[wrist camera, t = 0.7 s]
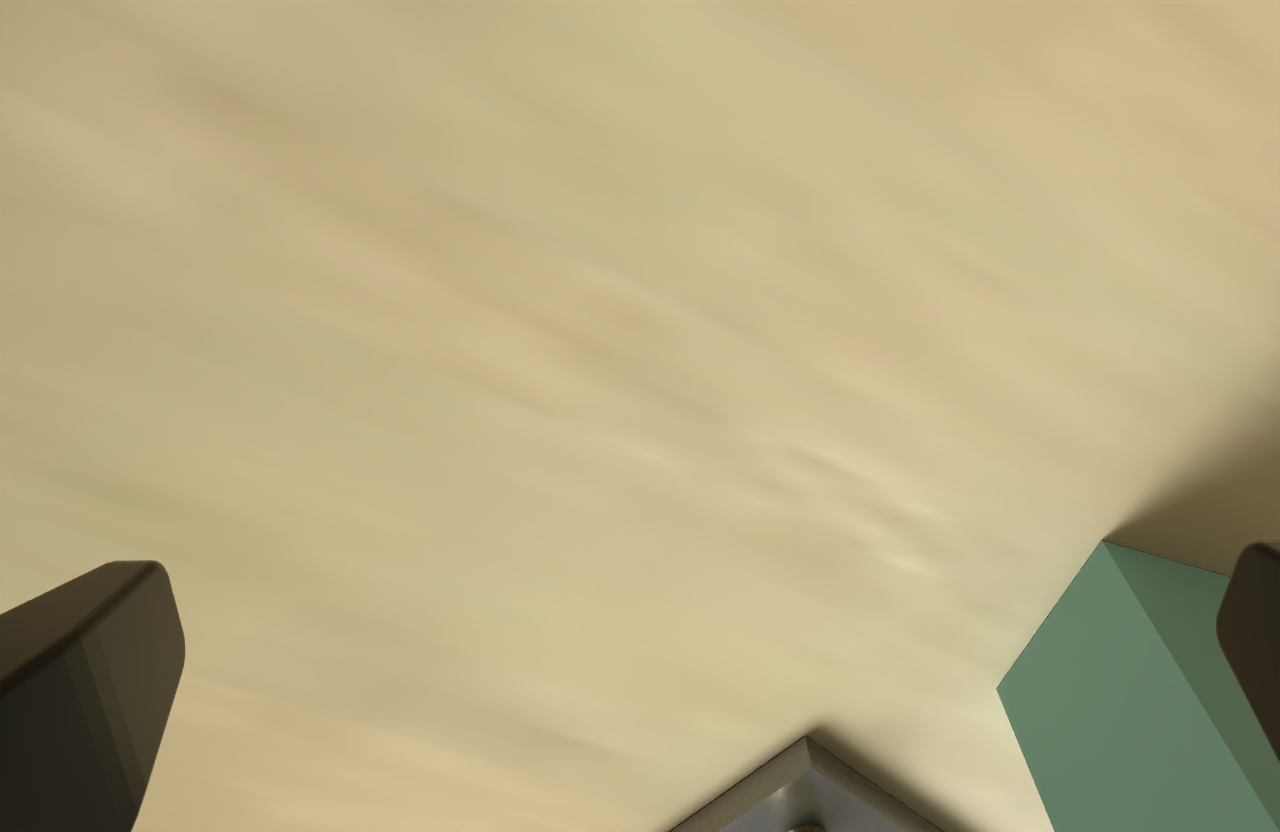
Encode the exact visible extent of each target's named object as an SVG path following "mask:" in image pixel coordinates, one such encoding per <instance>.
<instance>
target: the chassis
mask: <svg viewBox="0 0 1280 832" xmlns="http://www.w3.org/2000/svg"><path fill="white" fill-rule="evenodd" d="M671 832H942V831H941V830H939V829H938V828H937V827H935V826H934V825H932V824H931V823H929V822H928V821H926V820H925V819H924V818H922V817H921V816H919V815H918V814H916V813H915V812H913V811H912V810H911V809H909V808H908V807H906V806H905V805H903V804H902V803H900V802H899V801H898V800H896V799H895V798H893V797H892V796H890V795H889V794H888V793H886V792H885V791H883V790H882V789H880V788H879V787H877V786H876V785H875V784H873V783H872V782H870V781H869V780H867V779H866V778H864V777H863V776H862V775H860V774H859V773H857V772H856V771H854V770H853V769H851V768H850V767H849V766H847V765H846V764H844V763H843V762H841V761H840V760H838V759H837V758H836V757H834V756H833V755H831V754H830V753H828V752H827V751H825V750H824V749H823V748H821V747H820V746H818V745H817V744H815V743H814V742H813V741H811V740H810V739H808V738H807V737H803V738H802V739H801V740H799V741H798V742H796V743H795V744H794V745H792V746H791V747H789V748H788V749H786V750H785V751H784V752H782V753H781V754H779V755H778V756H777V757H775V758H774V759H772V760H771V761H770V762H768V763H767V764H765V765H764V766H762V767H761V768H760V769H758V770H757V771H755V772H754V773H753V774H751V775H750V776H748V777H747V778H746V779H744V780H743V781H741V782H740V783H738V784H737V785H736V786H734V787H733V788H731V789H730V790H729V791H727V792H726V793H724V794H723V795H722V796H720V797H719V798H717V799H716V800H714V801H713V802H712V803H710V804H709V805H707V806H706V807H705V808H703V809H702V810H700V811H699V812H698V813H696V814H695V815H693V816H692V817H690V818H689V819H688V820H686V821H685V822H683V823H682V824H681V825H679V826H678V827H676V828H675V829H674V830H672V831H671Z"/></svg>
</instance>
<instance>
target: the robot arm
mask: <svg viewBox="0 0 1280 832" xmlns="http://www.w3.org/2000/svg"><path fill="white" fill-rule="evenodd" d="M1215 626H1216V636H1217V639H1218V643H1219V646H1220V648H1221V651H1222V653H1223V655H1224V656H1225V658H1226V660H1227V662H1228V664H1229V666H1230V668H1231V670H1232V672H1233V674H1234V676H1235V678H1236V680H1237V682H1238V684H1239V686H1240V687H1241V689H1242V691H1243V693H1244V695H1245V697H1246V699H1247V701H1248V703H1249V705H1250V707H1251V709H1252V711H1253V713H1254V715H1255V717H1256V718H1257V720H1258V722H1259V724H1260V726H1261V728H1262V730H1263V732H1264V734H1265V736H1266V738H1267V740H1268V742H1269V744H1270V746H1271V748H1272V749H1273V751H1274V753H1275V755H1276V757H1277V759H1278V761H1279V763H1280V540H1273V541H1253V542H1251V543H1249V544H1247V545H1246V546H1244V548H1243V549H1242V550H1241V551H1240V553H1239V555H1238V558H1237V560H1236V563H1235V566H1234V568H1233V571H1232V574H1231V576H1230V579H1229V582H1228V584H1227V587H1226V590H1225V592H1224V595H1223V598H1222V600H1221V603H1220V606H1219V608H1218V611H1217V615H1216V625H1215ZM184 660H185V638H184V633H183V629H182V625H181V622H180V618H179V614H178V610H177V606H176V602H175V599H174V595H173V591H172V587H171V583H170V579H169V576H168V573H167V571H166V569H165V568H164V566H163V565H162V564H160V563H159V562H157V561H153V560H144V561H113V562H110V563H106V564H104V565H102V566H100V567H98V568H96V569H94V570H91V571H89V572H87V573H85V574H83V575H81V576H79V577H77V578H75V579H73V580H71V581H69V582H67V583H65V584H63V585H60V586H58V587H56V588H54V589H52V590H50V591H48V592H46V593H44V594H42V595H40V596H38V597H36V598H34V599H32V600H29V601H27V602H25V603H23V604H21V605H19V606H17V607H15V608H13V609H11V610H9V611H7V612H5V613H3V614H1V615H0V832H131V831H132V828H133V826H134V823H135V821H136V819H137V816H138V813H139V811H140V808H141V805H142V802H143V799H144V796H145V793H146V790H147V786H148V783H149V780H150V777H151V773H152V770H153V767H154V763H155V760H156V757H157V754H158V750H159V747H160V744H161V740H162V737H163V734H164V730H165V727H166V724H167V721H168V717H169V714H170V711H171V707H172V704H173V701H174V698H175V694H176V691H177V688H178V684H179V681H180V678H181V675H182V671H183V667H184Z"/></svg>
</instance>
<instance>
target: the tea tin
mask: <svg viewBox="0 0 1280 832" xmlns="http://www.w3.org/2000/svg"><path fill="white" fill-rule="evenodd" d="M1229 579H1230V577H1228V576H1224V575H1221V574H1217V573H1214V572H1210V571H1207V570H1203V569H1200V568H1196V567H1193V566H1189V565H1186V564H1182V563H1179V562H1175V561H1172V560H1168V559H1165V558H1161V557H1158V556H1154V555H1151V554H1147V553H1144V552H1140V551H1137V550H1133V549H1130V548H1126V547H1123V546H1119V545H1116V544H1112V543H1109V542H1105V541H1101V542H1100V543H1099V545H1098V546H1097V548H1096V549H1095V550H1094V552H1093V553H1092V555H1091V556H1090V558H1089V559H1088V560H1087V562H1086V563H1085V565H1084V566H1083V567H1082V569H1081V570H1080V572H1079V573H1078V574H1077V576H1076V577H1075V579H1074V580H1073V582H1072V583H1071V584H1070V586H1069V587H1068V589H1067V590H1066V591H1065V593H1064V594H1063V596H1062V597H1061V598H1060V600H1059V601H1058V603H1057V604H1056V606H1055V607H1054V608H1053V610H1052V611H1051V613H1050V614H1049V615H1048V617H1047V618H1046V620H1045V621H1044V623H1043V624H1042V625H1041V627H1040V628H1039V630H1038V631H1037V632H1036V634H1035V635H1034V637H1033V638H1032V639H1031V641H1030V642H1029V644H1028V645H1027V647H1026V648H1025V649H1024V651H1023V652H1022V654H1021V655H1020V656H1019V658H1018V659H1017V661H1016V662H1015V664H1014V665H1013V666H1012V668H1011V669H1010V671H1009V672H1008V673H1007V675H1006V676H1005V678H1004V679H1003V680H1002V682H1001V683H1000V685H999V686H998V688H997V692H998V694H999V697H1000V699H1001V701H1002V704H1003V706H1004V709H1005V711H1006V714H1007V716H1008V719H1009V721H1010V723H1011V726H1012V728H1013V731H1014V733H1015V736H1016V738H1017V741H1018V743H1019V745H1020V748H1021V750H1022V753H1023V755H1024V758H1025V760H1026V763H1027V765H1028V768H1029V770H1030V772H1031V775H1032V777H1033V780H1034V782H1035V785H1036V787H1037V790H1038V792H1039V794H1040V797H1041V799H1042V802H1043V804H1044V807H1045V809H1046V812H1047V814H1048V816H1049V819H1050V821H1051V824H1052V826H1053V829H1054V831H1055V832H1280V763H1279V761H1278V759H1277V757H1276V755H1275V753H1274V751H1273V749H1272V748H1271V746H1270V744H1269V742H1268V740H1267V738H1266V736H1265V734H1264V732H1263V730H1262V728H1261V726H1260V724H1259V722H1258V720H1257V718H1256V717H1255V715H1254V713H1253V711H1252V709H1251V707H1250V705H1249V703H1248V701H1247V699H1246V697H1245V695H1244V693H1243V691H1242V689H1241V687H1240V686H1239V684H1238V682H1237V680H1236V678H1235V676H1234V674H1233V672H1232V670H1231V668H1230V666H1229V664H1228V662H1227V660H1226V658H1225V656H1224V655H1223V653H1222V651H1221V648H1220V646H1219V643H1218V639H1217V636H1216V626H1215V625H1216V615H1217V611H1218V608H1219V606H1220V603H1221V600H1222V598H1223V595H1224V592H1225V590H1226V587H1227V584H1228V582H1229Z"/></svg>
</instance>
